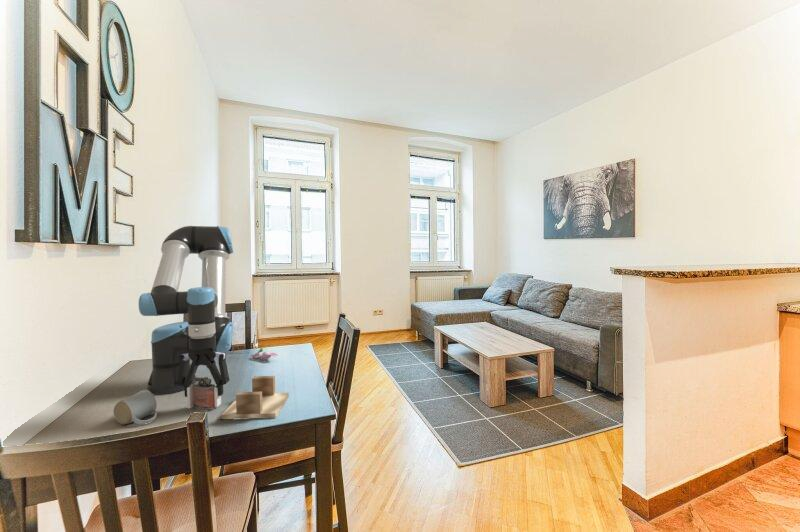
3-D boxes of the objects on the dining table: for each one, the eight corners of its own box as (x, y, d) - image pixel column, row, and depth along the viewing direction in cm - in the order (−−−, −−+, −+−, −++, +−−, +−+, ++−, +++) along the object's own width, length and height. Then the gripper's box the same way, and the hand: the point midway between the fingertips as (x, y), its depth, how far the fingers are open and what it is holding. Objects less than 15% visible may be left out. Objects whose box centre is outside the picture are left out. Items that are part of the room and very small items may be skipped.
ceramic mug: (111, 424, 101) (110, 398, 100) (140, 411, 109) (139, 387, 108) (138, 430, 98) (137, 403, 97) (165, 416, 106) (164, 392, 105)
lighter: (218, 407, 111) (217, 377, 111) (209, 412, 108) (208, 380, 108) (199, 403, 114) (198, 374, 113) (190, 408, 111) (189, 377, 110)
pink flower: (248, 362, 160) (272, 361, 154) (246, 349, 160) (270, 348, 154) (258, 358, 165) (282, 357, 159) (256, 346, 166) (280, 344, 159)
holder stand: (221, 419, 103) (220, 395, 103) (241, 398, 118) (240, 376, 118) (275, 418, 104) (275, 393, 104) (288, 396, 119) (288, 375, 119)
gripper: (161, 339, 105) (164, 412, 107) (230, 338, 107) (232, 410, 108) (175, 333, 113) (178, 401, 114) (239, 332, 114) (241, 399, 115)
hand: (204, 405), depth 111 cm, fingers closed on lighter, 8 cm apart
